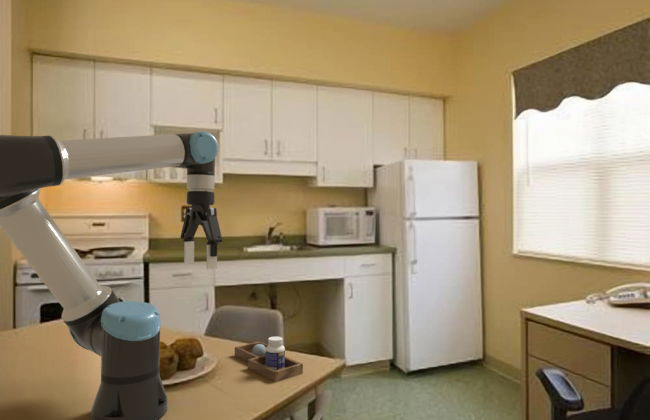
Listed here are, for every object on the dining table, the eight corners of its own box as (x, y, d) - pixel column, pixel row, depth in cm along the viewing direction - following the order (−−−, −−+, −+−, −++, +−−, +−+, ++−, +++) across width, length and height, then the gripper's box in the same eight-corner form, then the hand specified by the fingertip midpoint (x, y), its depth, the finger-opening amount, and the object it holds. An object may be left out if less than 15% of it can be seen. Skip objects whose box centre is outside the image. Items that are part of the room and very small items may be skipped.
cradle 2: (275, 383, 112) (275, 372, 112) (247, 370, 121) (248, 359, 121) (302, 375, 118) (302, 364, 118) (274, 362, 127) (274, 352, 127)
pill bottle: (281, 375, 117) (281, 341, 117) (262, 373, 118) (263, 340, 118) (287, 368, 122) (287, 336, 122) (269, 366, 123) (269, 335, 123)
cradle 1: (258, 368, 123) (258, 357, 123) (234, 357, 132) (234, 347, 132) (284, 361, 129) (284, 351, 129) (259, 350, 138) (259, 341, 138)
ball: (257, 360, 128) (257, 347, 128) (249, 357, 131) (250, 343, 131) (268, 357, 130) (268, 344, 130) (261, 354, 133) (261, 341, 133)
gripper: (235, 190, 116) (234, 269, 116) (193, 192, 134) (192, 261, 134) (210, 188, 111) (209, 272, 111) (169, 191, 129) (168, 262, 129)
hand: (199, 266), depth 123 cm, fingers open, 13 cm apart
